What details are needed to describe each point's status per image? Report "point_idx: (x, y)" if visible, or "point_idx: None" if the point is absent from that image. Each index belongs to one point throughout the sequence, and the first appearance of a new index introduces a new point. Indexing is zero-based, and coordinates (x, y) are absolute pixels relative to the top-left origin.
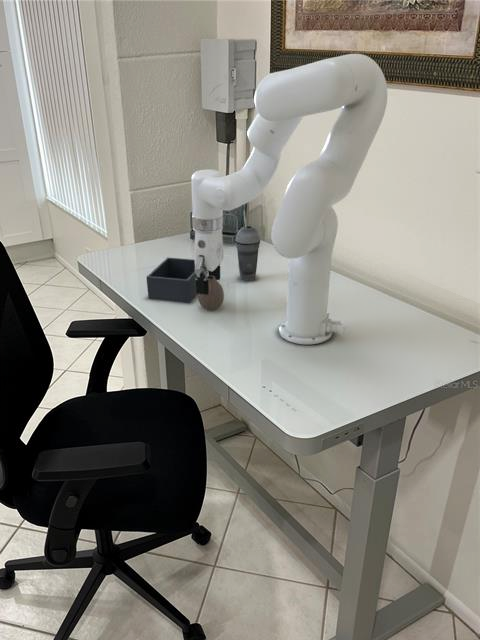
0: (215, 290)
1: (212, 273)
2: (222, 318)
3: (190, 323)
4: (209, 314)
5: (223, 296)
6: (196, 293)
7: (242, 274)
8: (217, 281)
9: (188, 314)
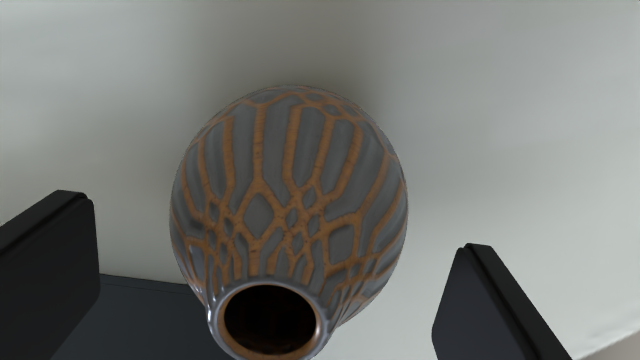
0: (379, 186)
1: (56, 304)
2: (470, 52)
3: (532, 242)
4: (403, 155)
5: (300, 90)
6: (124, 283)
7: None
8: (246, 210)
9: (407, 273)
